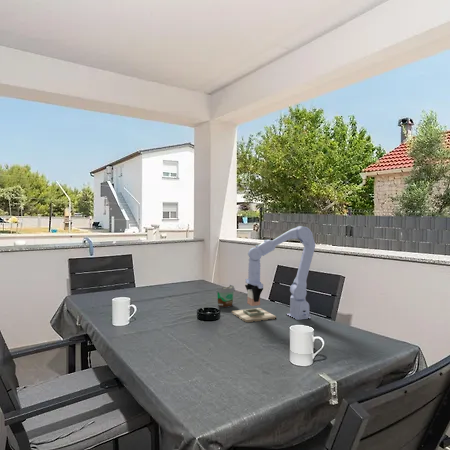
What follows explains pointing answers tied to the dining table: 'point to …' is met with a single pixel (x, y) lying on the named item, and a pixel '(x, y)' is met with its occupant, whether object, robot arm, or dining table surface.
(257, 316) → the board
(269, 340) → the dining table surface
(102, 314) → the dining table surface
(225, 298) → the food container
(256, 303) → the white brown rectangular block
